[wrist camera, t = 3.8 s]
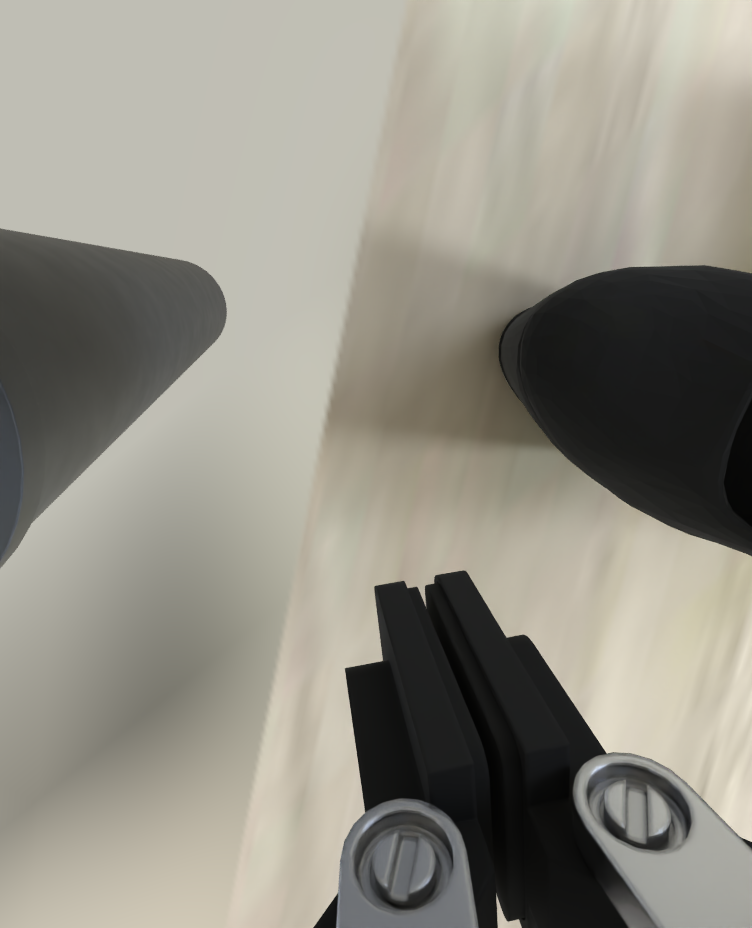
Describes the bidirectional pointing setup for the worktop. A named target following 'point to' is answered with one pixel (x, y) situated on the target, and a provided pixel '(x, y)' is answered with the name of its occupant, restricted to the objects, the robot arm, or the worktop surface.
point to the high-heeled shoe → (648, 390)
